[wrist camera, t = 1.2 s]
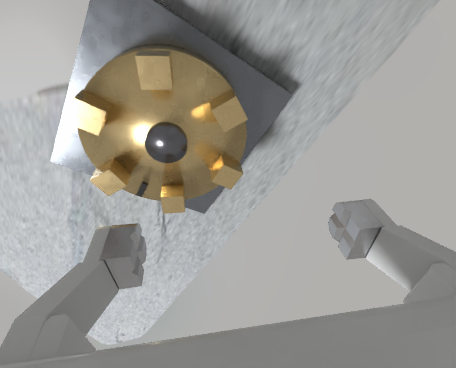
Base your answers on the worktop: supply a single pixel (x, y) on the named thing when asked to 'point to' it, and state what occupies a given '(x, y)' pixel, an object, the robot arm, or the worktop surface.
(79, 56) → the base plate
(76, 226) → the worktop surface
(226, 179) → the ring nut
